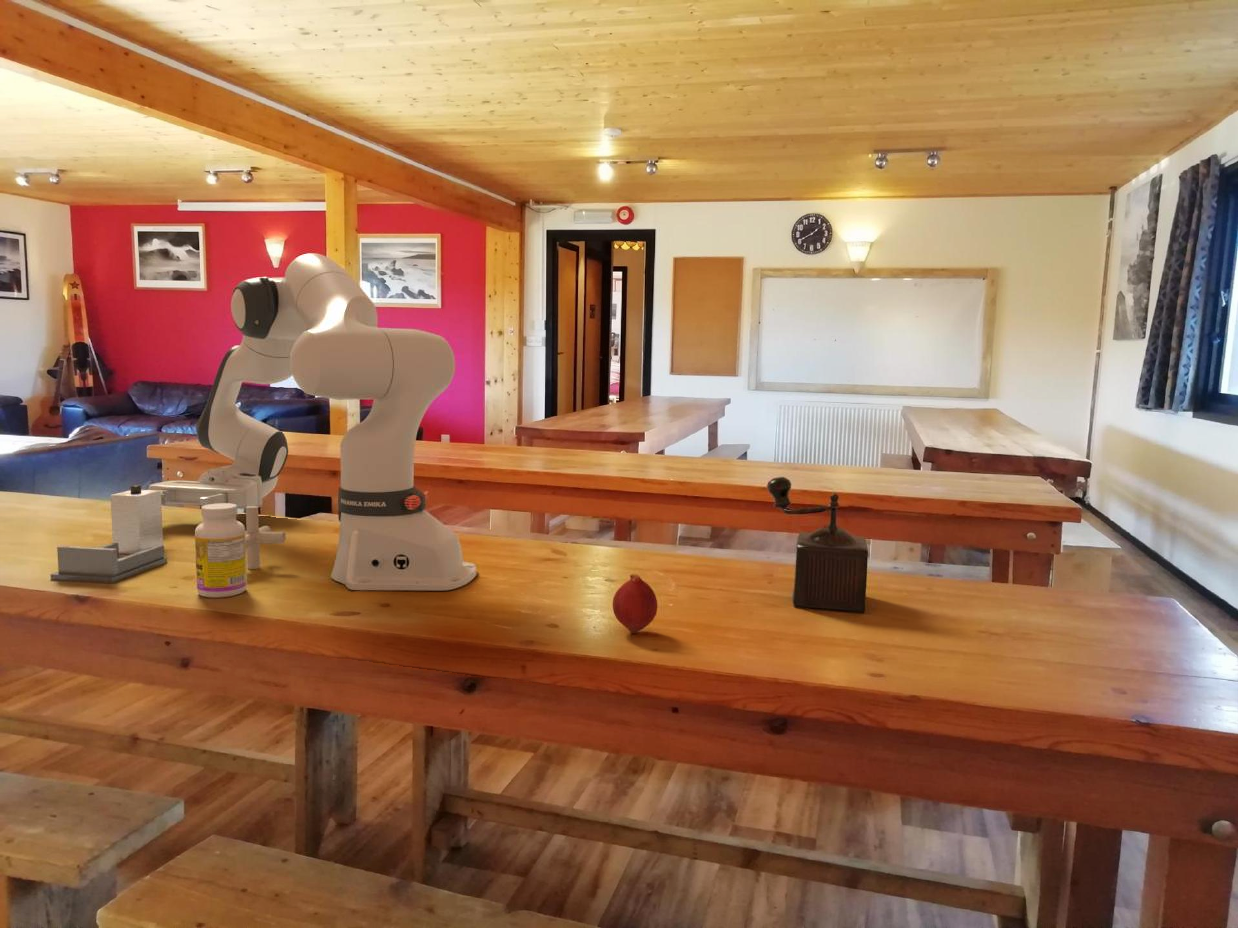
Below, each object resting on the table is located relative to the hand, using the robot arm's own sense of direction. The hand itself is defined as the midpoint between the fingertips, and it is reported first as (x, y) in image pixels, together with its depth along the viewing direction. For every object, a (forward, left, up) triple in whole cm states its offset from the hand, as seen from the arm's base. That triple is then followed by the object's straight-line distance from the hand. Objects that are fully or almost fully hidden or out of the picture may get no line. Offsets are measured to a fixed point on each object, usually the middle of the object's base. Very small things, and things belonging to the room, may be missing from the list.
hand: (179, 501), depth 161 cm
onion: (-89, +39, -7) cm, 98 cm away
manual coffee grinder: (-114, +18, -7) cm, 116 cm away
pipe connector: (-25, +19, -7) cm, 32 cm away
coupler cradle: (-5, +25, -6) cm, 27 cm away
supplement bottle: (-28, +33, -7) cm, 44 cm away
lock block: (0, +12, -6) cm, 14 cm away
